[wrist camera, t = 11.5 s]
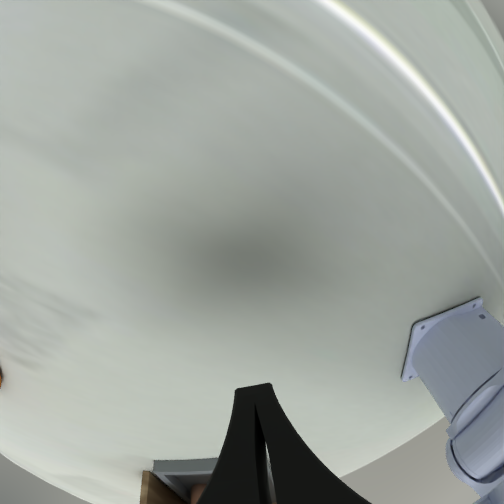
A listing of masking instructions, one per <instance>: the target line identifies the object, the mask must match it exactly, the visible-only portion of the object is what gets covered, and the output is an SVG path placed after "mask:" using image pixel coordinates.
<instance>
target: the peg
mask: <svg viewBox="0 0 504 504" xmlns="http://www.w3.org/2000/svg"><path fill="white" fill-rule="evenodd" d="M206 485H207V484H196V485H193V486H192V487H191V504H196V502H197V501H198V499H199V497H200V496H201V494H202V492H203V490H204V488H205V487H206Z"/></svg>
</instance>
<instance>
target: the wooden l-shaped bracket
mask: <svg viewBox="0 0 504 504" xmlns="http://www.w3.org/2000/svg"><path fill="white" fill-rule="evenodd" d="M140 504H188V503H187V502H185V501H184V500H182V499H181V498H180V497H179V496H177V495H176V494H175V493H174V492H172V491H171V490H170V489H169V488H168V487H167V486H165V485H164V484H163V483H162V482H161V481H160V480H158V479H157V478H156V477H155V476H154V475H153V474H152V473H151V472H150V471H143V475H142V485H141V495H140ZM272 504H277V503H276V502H274V503H272Z"/></svg>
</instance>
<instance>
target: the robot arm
mask: <svg viewBox="0 0 504 504" xmlns="http://www.w3.org/2000/svg"><path fill="white" fill-rule="evenodd" d="M482 304H483V299H482V298H481V297H479V298H477V299H475V300H473V301H470V302H468V303H466V304H463V305H461V306H459V307H456V308H454V309H451V310H449V311H447V312H444V313H442V314H439V315H436V316H434V317H431V318H429V319H426V320H423V321H421V322H418V323H416V324H415V325H414V326H413V328H412V333H411V338H410V343H409V348H408V353H407V357H406V362H405V366H404V370H403V374H402V378H401V379H402V381H403V382H406V381H408V380H411V379H413V378H416V377H418V376H419V377H420V378H421V380H422V381H423V383H424V384H425V386H426V387H427V389H428V390H429V392H430V393H431V395H432V396H433V398H434V399H435V401H436V402H437V404H438V406H439V407H440V409H441V410H442V412H443V413H444V415H445V416H446V418H447V420H448V421H449V423H450V424H451V425H450V426H449V427H448V428H447V429H446V432H447V433H448V435H449V437H450V438H449V439H448V441H447V443H446V459H447V462H448V465H449V467H450V469H451V471H452V472H453V474H454V475H455V476H456V477H457V478H458V479H459V480H461V481H462V482H464V483H466V484H468V485H469V486H470V487H472V488H473V489H474V490H475V491H476V492H477V494H479V496H480V497H481V498H480V499H479V500H477V501H476V502H475V503H473V504H504V326H503V325H502V324H500V323H499V322H498V321H497V320H496V319H495V318H494V317H493V316H492V315H491V314H490V313H489V312H487V311H486V310H485V309H484V308H483V307H482ZM265 441H266V442H265ZM266 444H267V449H268V453H269V458H270V464H271V471H272V477H273V483H274V490H275V496H276V503H277V504H371V503H370V502H368V501H367V500H365V499H364V498H363V497H361V496H360V495H358V494H357V493H356V492H355V491H353V490H352V489H351V488H349V487H348V486H347V485H346V484H345V483H343V482H342V481H341V480H340V479H339V478H338V477H337V476H336V475H334V474H333V473H332V472H331V471H330V470H329V469H328V468H327V467H326V466H325V465H324V464H323V463H322V462H321V461H320V460H319V459H318V458H317V456H316V455H315V454H314V453H313V452H312V451H311V450H310V448H309V447H308V446H307V445H306V444H305V442H304V441H303V440H302V438H301V437H300V436H299V434H298V433H297V432H296V430H295V429H294V427H293V426H292V424H291V423H290V421H289V419H288V418H287V416H286V415H285V413H284V411H283V409H282V408H281V406H280V404H279V402H278V400H277V398H276V395H275V393H274V390H273V387H272V384H271V383H264V384H259V385H254V386H249V387H243V388H237V389H236V390H235V396H234V404H233V410H232V415H231V419H230V423H229V427H228V431H227V435H226V438H225V441H224V444H223V447H222V450H221V453H220V456H219V458H218V461H217V463H216V466H215V468H214V470H213V472H212V475H211V477H210V479H209V481H208V483H207V485H206V487H205V488H204V490H203V492H202V494H201V496H200V497H199V499H198V501H197V502H196V504H272V500H271V495H270V489H269V481H268V468H267V455H266Z"/></svg>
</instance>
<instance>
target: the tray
mask: <svg viewBox="0 0 504 504" xmlns="http://www.w3.org/2000/svg"><path fill="white" fill-rule="evenodd" d="M217 461H218V458H210V459H195V460H154V466H153V472H154V473H155V474H156V475H157V476H158V477H159V478H160V479H161V480H162V481H163V482H164V483H165V484H167V485H168V486H169V487H170V488H171V489H172V490H173V491H174V492H175V493H177V494H178V495H179V496H180V497H181V498H182V499H184V500H185V501H186V502H187V503H188V504H191V487H192V486H193V485H196V484H207V483H208V481H209V479H210V477H211V475H212V472H213V470H214V468H215V466H216V463H217ZM267 468H268V481H269V489H270V495H271V500H272V503H274V502H276V496H275V490H274V483H273V478H272V474H271V471H270V467H269V464H268V460H267Z"/></svg>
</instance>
